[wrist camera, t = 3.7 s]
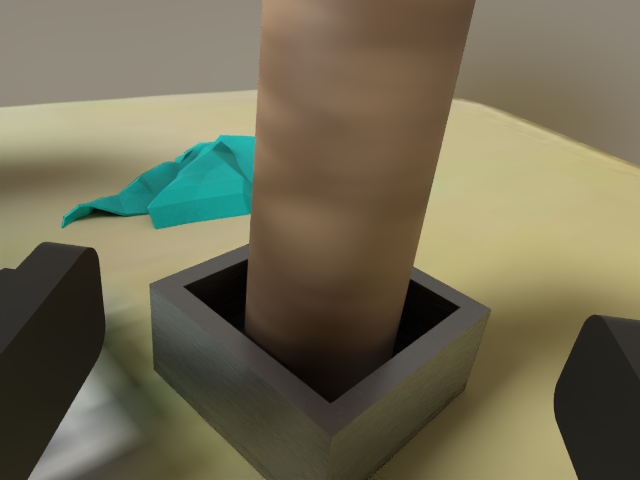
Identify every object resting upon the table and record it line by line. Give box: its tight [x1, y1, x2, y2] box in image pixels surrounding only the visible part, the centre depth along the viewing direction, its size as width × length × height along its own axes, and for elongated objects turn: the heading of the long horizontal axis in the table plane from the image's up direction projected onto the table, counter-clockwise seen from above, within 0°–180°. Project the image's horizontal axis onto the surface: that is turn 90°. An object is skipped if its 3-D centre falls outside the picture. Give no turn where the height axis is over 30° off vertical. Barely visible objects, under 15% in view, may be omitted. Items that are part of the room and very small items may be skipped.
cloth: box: [62, 135, 255, 229], centre depth 38 cm, size 26×14×2 cm, turn 116°
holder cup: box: [150, 244, 491, 480], centre depth 21 cm, size 9×9×4 cm
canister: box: [244, 0, 475, 404], centre depth 18 cm, size 6×6×16 cm
